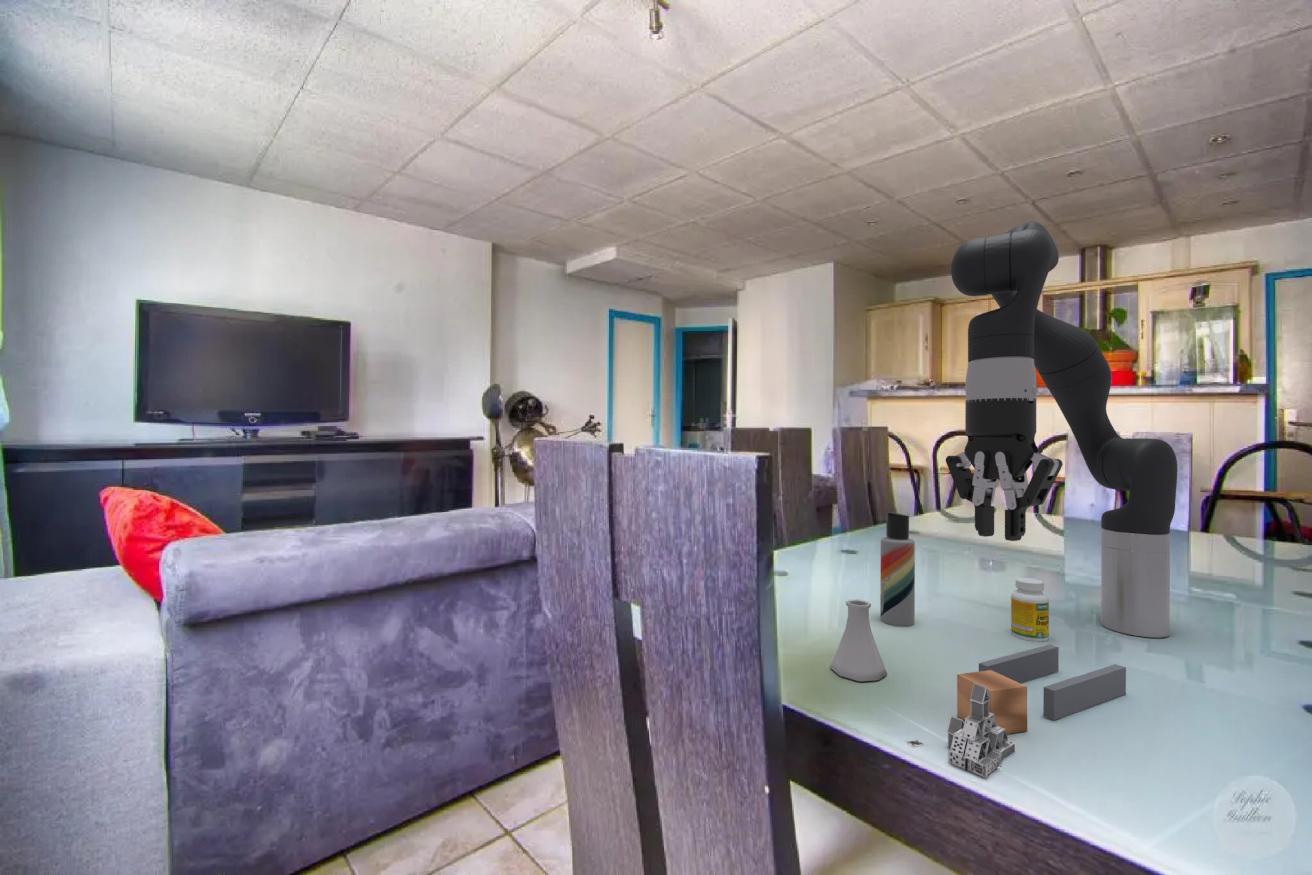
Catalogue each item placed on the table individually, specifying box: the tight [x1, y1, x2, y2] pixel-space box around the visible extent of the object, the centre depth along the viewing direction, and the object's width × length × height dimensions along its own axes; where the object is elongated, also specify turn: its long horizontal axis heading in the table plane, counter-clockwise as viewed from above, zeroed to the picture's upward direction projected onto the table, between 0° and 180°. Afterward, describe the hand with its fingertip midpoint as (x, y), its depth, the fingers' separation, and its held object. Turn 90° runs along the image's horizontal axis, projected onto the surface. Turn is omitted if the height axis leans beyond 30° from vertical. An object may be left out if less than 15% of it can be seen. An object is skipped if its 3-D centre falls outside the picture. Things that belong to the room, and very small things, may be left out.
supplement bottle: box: [1010, 577, 1050, 643], centre depth 97 cm, size 5×5×10 cm
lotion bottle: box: [879, 511, 916, 628], centre depth 104 cm, size 6×6×20 cm
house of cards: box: [904, 683, 1016, 779], centre depth 63 cm, size 9×9×8 cm
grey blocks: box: [978, 644, 1127, 721], centre depth 76 cm, size 16×9×4 cm, turn 117°
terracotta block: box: [956, 670, 1028, 735], centre depth 68 cm, size 5×5×5 cm
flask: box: [829, 599, 888, 682], centre depth 82 cm, size 7×7×10 cm
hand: (999, 537), depth 71 cm, fingers open, 3 cm apart
